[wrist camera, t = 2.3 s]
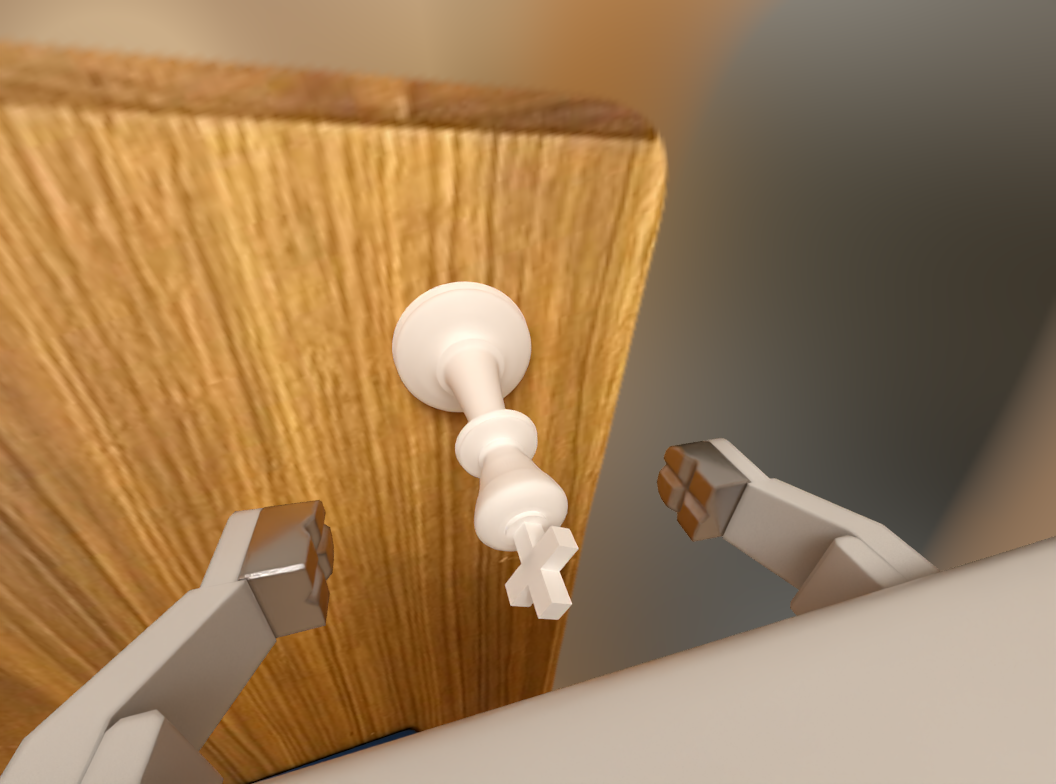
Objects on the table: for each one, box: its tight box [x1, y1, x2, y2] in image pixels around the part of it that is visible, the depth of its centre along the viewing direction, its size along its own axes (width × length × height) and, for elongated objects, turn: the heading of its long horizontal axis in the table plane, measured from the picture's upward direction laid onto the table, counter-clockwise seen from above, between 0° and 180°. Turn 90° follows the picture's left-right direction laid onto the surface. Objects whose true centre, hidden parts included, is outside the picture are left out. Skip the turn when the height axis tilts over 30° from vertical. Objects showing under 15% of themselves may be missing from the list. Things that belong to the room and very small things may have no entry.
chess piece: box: [392, 282, 578, 620], centre depth 11 cm, size 5×5×10 cm
